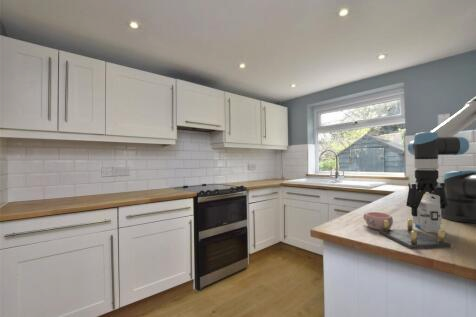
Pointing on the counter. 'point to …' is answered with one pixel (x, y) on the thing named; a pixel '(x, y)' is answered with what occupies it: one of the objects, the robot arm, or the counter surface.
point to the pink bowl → (377, 220)
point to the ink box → (430, 214)
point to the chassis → (414, 237)
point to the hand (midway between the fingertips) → (427, 223)
